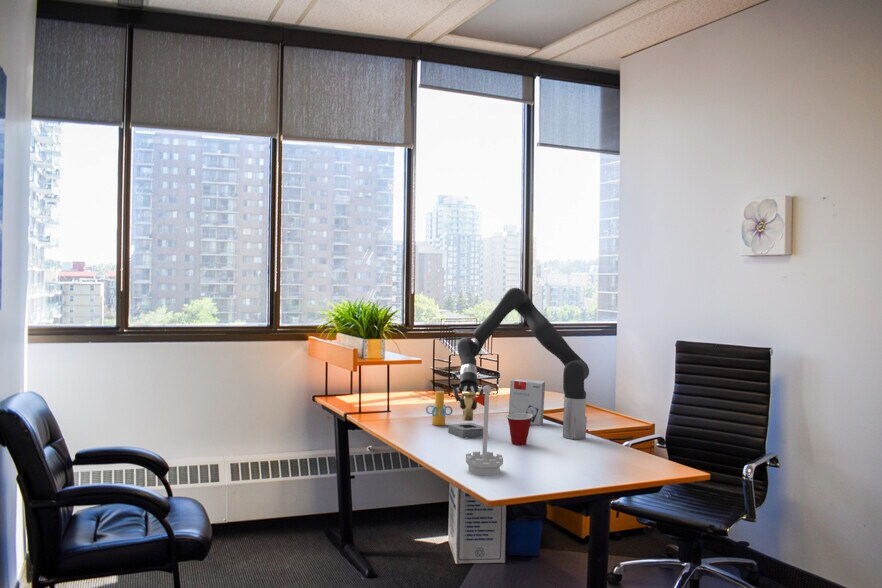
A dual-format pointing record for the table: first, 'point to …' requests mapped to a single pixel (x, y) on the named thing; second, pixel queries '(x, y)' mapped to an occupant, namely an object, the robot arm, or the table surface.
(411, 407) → the table surface
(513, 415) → the plastic cup
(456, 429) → the jig
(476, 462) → the flag stand
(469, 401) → the gold capped peg
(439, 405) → the tube with loops
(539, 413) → the hard drive box
